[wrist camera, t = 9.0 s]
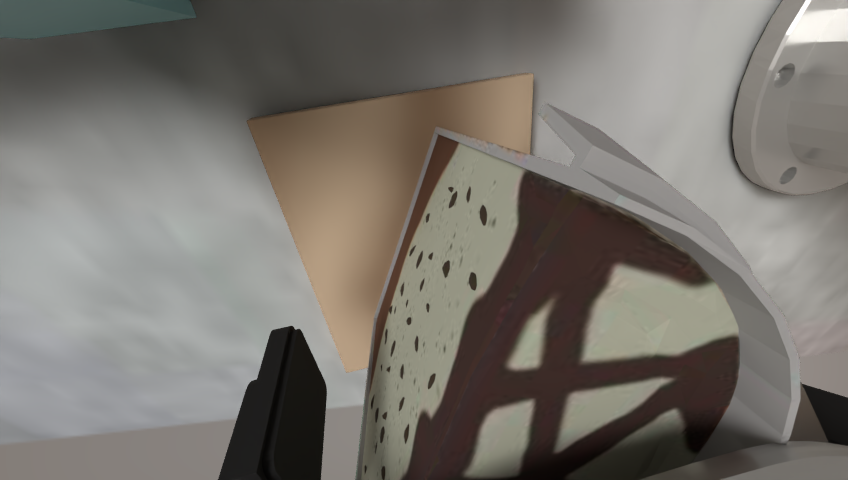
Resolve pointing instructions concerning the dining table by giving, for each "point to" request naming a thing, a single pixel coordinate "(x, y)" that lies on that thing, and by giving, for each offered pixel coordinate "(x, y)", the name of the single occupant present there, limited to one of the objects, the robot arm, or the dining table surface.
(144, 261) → the dining table surface
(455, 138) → the food container
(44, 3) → the sleeve
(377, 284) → the mat
